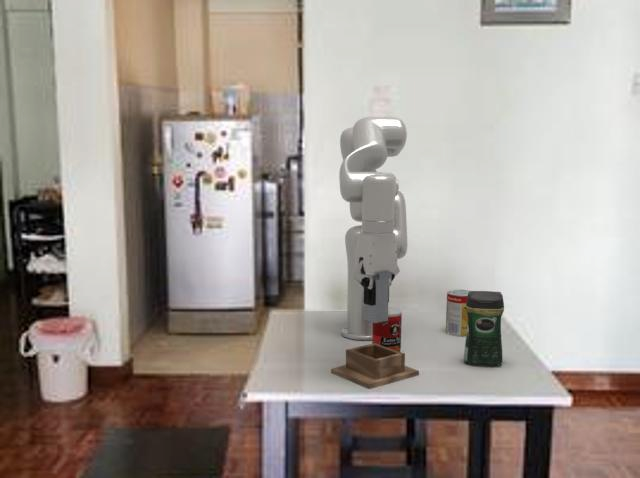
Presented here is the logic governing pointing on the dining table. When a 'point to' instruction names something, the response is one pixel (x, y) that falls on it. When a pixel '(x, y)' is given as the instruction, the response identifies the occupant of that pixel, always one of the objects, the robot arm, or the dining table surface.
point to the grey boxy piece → (379, 299)
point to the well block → (374, 366)
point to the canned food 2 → (456, 312)
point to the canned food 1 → (389, 330)
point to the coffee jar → (484, 328)
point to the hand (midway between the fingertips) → (376, 302)
